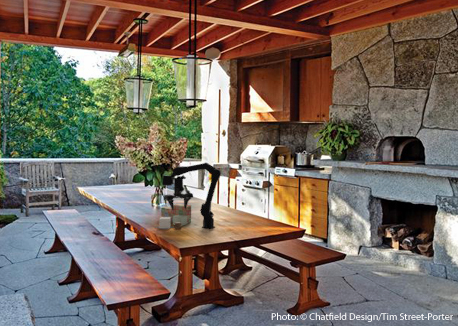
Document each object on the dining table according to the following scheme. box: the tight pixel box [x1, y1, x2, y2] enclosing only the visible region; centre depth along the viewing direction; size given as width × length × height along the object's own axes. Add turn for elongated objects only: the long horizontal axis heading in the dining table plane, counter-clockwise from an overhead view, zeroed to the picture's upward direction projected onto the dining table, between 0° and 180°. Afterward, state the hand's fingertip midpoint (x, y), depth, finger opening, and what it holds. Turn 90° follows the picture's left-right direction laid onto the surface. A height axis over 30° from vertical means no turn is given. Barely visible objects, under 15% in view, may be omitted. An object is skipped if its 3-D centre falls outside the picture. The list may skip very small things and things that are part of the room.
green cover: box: [172, 214, 188, 227], centre depth 281 cm, size 7×7×6 cm
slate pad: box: [154, 225, 175, 231], centre depth 272 cm, size 9×9×1 cm
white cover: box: [158, 216, 172, 229], centre depth 272 cm, size 7×7×6 cm
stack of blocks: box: [160, 203, 192, 224], centre depth 291 cm, size 21×6×12 cm, turn 61°
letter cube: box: [174, 222, 182, 230], centre depth 270 cm, size 4×4×4 cm
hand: (179, 209), depth 275 cm, fingers open, 9 cm apart
